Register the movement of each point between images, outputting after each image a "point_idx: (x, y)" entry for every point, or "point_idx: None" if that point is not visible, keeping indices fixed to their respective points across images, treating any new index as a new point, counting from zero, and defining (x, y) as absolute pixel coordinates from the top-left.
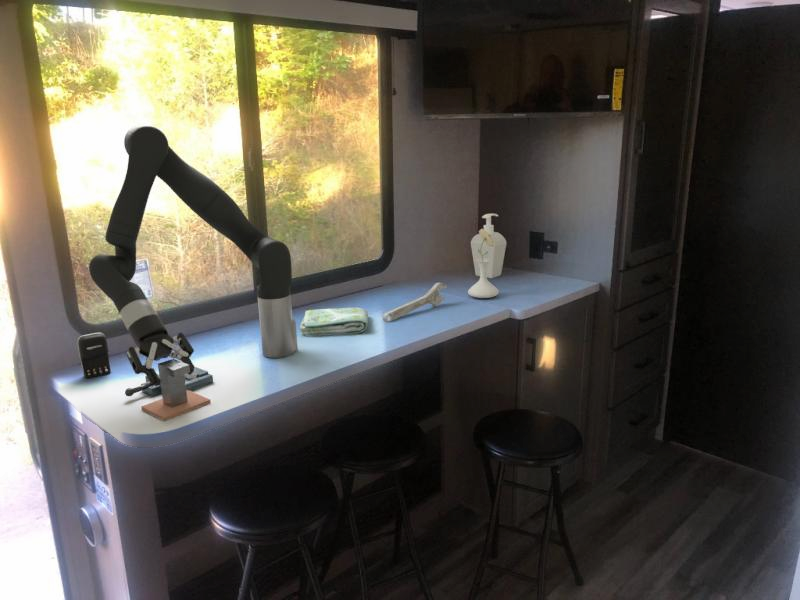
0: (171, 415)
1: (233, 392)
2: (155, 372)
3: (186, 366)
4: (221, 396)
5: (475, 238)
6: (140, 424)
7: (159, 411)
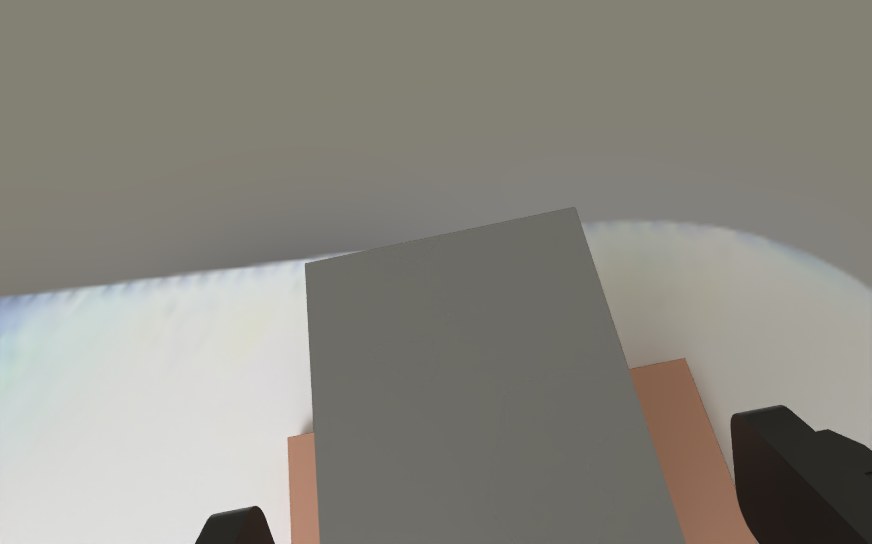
0: None
1: (84, 505)
2: (838, 501)
3: (355, 256)
4: (181, 498)
5: None
6: (864, 436)
7: (695, 504)
